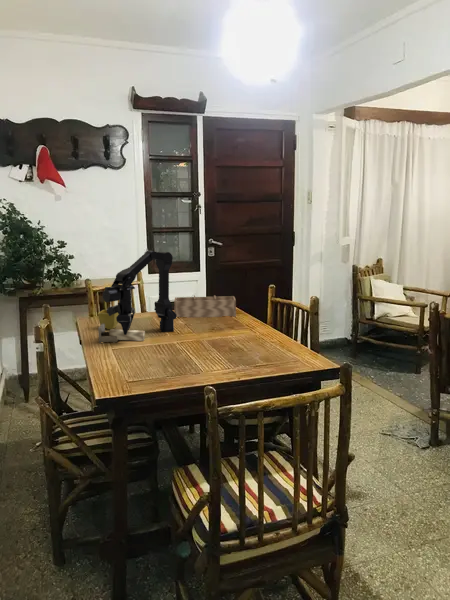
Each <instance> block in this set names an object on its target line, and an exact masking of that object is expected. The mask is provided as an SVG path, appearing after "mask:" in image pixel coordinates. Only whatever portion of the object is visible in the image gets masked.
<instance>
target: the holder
mask: <svg viewBox="0 0 450 600" xmlns="http://www.w3.org/2000/svg"><path fill="white" fill-rule="evenodd" d="M173 303H174V307H173V308H174V309H173V311H174V312H175V313H176V314H177V317H187V318H222V316H233V317H237V300H236V297H235V296H234V295H231V296H229V295H228V296H225V295H224V296H216V295H215V294H214V295H213V296H196V295H193V296H183V297H179V296H178V297H177V296H176V297H174V301H173Z"/></svg>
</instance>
